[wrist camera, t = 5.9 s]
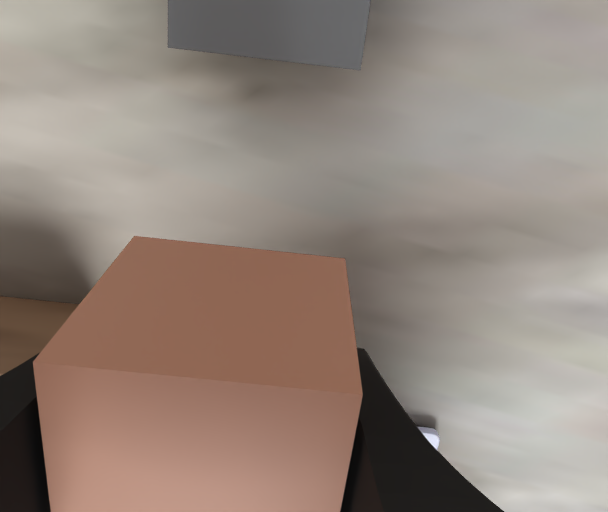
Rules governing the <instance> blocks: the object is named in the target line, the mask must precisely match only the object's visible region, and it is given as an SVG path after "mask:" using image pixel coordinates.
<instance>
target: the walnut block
mask: <svg viewBox="0 0 608 512" xmlns="http://www.w3.org/2000/svg"><path fill="white" fill-rule="evenodd" d="M78 305H79V304H72V303H62V302H52V301H42V300H33V299H23V298H13V297H3V296H0V376H1V375H3V374H5V373H6V372H8V371H10V370H12V369H13V368H15V367H17V366H19V365H20V364H22V363H24V362H25V361H27V360H28V359H30V358H32V357H33V356H35V355H37V354H38V353H40V352H41V351H42V350H43V349H44V348H45V346H46V345H47V344H48V343H49V341H50V340H51V339H52V338H53V336H54V335H55V334H56V333H57V331H58V330H59V329H60V328H61V326H62V325H63V324H64V323H65V321H66V320H67V319H68V318H69V316H70V315H71V314H72V313H73V311H74V310H75V309H76V308H77V307H78Z"/></svg>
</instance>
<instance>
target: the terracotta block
mask: <svg viewBox="0 0 608 512" xmlns="http://www.w3.org/2000/svg"><path fill="white" fill-rule="evenodd" d="M33 368H34V377H35V385H36V393H37V401H38V410H39V418H40V426H41V435H42V443H43V451H44V459H45V468H46V476H47V484H48V493H49V501H50V509H51V512H340V510H341V505H342V500H343V494H344V489H345V484H346V479H347V474H348V469H349V463H350V458H351V453H352V448H353V443H354V438H355V433H356V427H357V422H358V417H359V412H360V407H361V402H362V396H363V392H362V385H361V377H360V369H359V362H358V354H357V346H356V339H355V331H354V323H353V316H352V308H351V300H350V292H349V285H348V277H347V269H346V262H345V258H336V257H326V256H317V255H308V254H298V253H289V252H279V251H270V250H261V249H251V248H242V247H233V246H223V245H214V244H205V243H195V242H186V241H177V240H167V239H158V238H148V237H139V236H134V237H133V238H132V239H131V241H130V242H129V243H128V244H127V246H126V247H125V248H124V249H123V251H122V252H121V253H120V254H119V256H118V257H117V258H116V259H115V261H114V262H113V263H112V264H111V266H110V267H109V268H108V269H107V270H106V272H105V273H104V274H103V275H102V277H101V278H100V279H99V280H98V282H97V283H96V284H95V285H94V287H93V288H92V289H91V290H90V292H89V293H88V294H87V295H86V297H85V298H84V299H83V300H82V302H81V303H80V304H79V305H78V307H77V308H76V309H75V310H74V311H73V313H72V314H71V315H70V316H69V318H68V319H67V320H66V321H65V323H64V324H63V325H62V326H61V328H60V329H59V330H58V331H57V333H56V334H55V335H54V336H53V338H52V339H51V340H50V341H49V343H48V344H47V345H46V346H45V348H44V349H43V350H42V351H41V352H40V354H39V355H38V356H37V357H36V359H35V360H34V361H33Z"/></svg>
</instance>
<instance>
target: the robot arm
mask: <svg viewBox="0 0 608 512" xmlns="http://www.w3.org/2000/svg"><path fill="white" fill-rule="evenodd" d="M39 354H40V353H38V354H37V355H35V356H33V357H32V358H30V359H28V360H27V361H25V362H24V363H22V364H20V365H19V366H17V367H15V368H13V369H12V370H10V371H8V372H6V373H5V374H3V375H1V376H0V512H51V509H50V501H49V493H48V484H47V476H46V468H45V459H44V451H43V443H42V435H41V426H40V418H39V410H38V401H37V393H36V385H35V377H34V368H33V361H34V360H35V359H36V357H37V356H38V355H39ZM357 354H358V362H359V369H360V377H361V385H362V392H363V396H362V402H361V407H360V412H359V417H358V422H357V427H356V433H355V438H354V443H353V448H352V453H351V458H350V463H349V469H348V474H347V479H346V484H345V489H344V494H343V500H342V505H341V510H340V512H504V511H503V510H501V509H500V508H499V507H498V506H496V505H495V504H494V503H493V502H491V501H490V500H489V499H488V498H487V497H486V496H485V495H483V494H482V493H481V492H480V491H479V490H478V489H477V488H475V487H474V486H473V485H472V484H471V483H470V482H469V481H467V480H466V479H465V478H464V477H463V476H462V475H461V474H460V473H459V472H458V471H457V470H456V469H455V468H454V467H453V466H452V465H451V464H450V463H449V462H448V461H447V460H446V459H445V458H444V457H443V456H442V455H441V454H440V453H439V452H438V451H437V450H438V446H439V442H440V438H439V434H438V432H437V431H436V430H435V429H433V428H427V427H417V426H416V425H415V424H414V422H413V421H412V420H411V418H410V417H409V416H408V415H407V413H406V412H405V410H404V409H403V408H402V406H401V405H400V403H399V402H398V401H397V399H396V398H395V396H394V395H393V394H392V392H391V391H390V389H389V388H388V386H387V385H386V383H385V381H384V380H383V378H382V377H381V375H380V373H379V372H378V370H377V369H376V367H375V365H374V364H373V362H372V360H371V358H370V357H369V355H368V353H367V352H366V351H365V350H364V349H361V348H357Z"/></svg>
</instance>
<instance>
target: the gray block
mask: <svg viewBox="0 0 608 512" xmlns="http://www.w3.org/2000/svg"><path fill="white" fill-rule="evenodd" d="M370 2H371V0H168V48H176V49H185V50H193V51H202V52H210V53H218V54H227V55H235V56H244V57H252V58H260V59H269V60H277V61H286V62H294V63H302V64H311V65H319V66H328V67H336V68H344V69H353V70H361V64H362V57H363V50H364V43H365V36H366V30H367V23H368V16H369V9H370Z"/></svg>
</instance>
